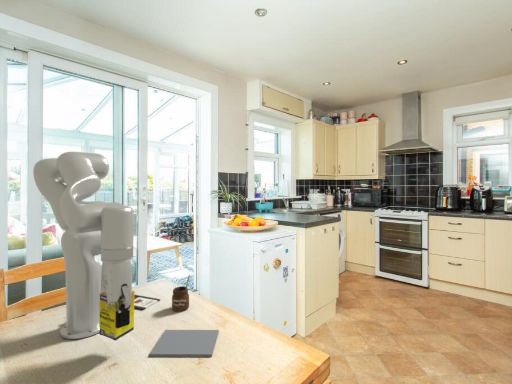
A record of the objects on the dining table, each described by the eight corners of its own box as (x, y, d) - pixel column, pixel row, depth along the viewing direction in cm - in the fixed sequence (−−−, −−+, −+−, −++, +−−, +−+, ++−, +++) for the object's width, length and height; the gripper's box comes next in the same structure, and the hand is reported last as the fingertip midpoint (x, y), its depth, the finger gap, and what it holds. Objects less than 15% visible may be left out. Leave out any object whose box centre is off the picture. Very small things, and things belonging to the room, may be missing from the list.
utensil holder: (175, 304, 102) (174, 272, 102) (192, 304, 102) (191, 272, 102) (169, 312, 96) (169, 277, 96) (187, 312, 96) (187, 277, 96)
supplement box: (98, 335, 71) (98, 293, 71) (118, 324, 77) (118, 285, 76) (115, 341, 69) (115, 298, 68) (134, 329, 74) (134, 289, 74)
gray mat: (149, 356, 71) (149, 354, 71) (165, 331, 83) (165, 329, 83) (211, 356, 71) (211, 354, 71) (218, 331, 83) (218, 329, 83)
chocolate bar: (124, 292, 112) (160, 299, 106) (124, 295, 112) (160, 301, 106) (104, 301, 104) (142, 309, 98) (105, 304, 104) (142, 311, 98)
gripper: (91, 248, 76) (91, 312, 76) (112, 264, 63) (112, 339, 64) (120, 244, 81) (120, 304, 82) (145, 258, 68) (145, 328, 69)
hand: (117, 319), depth 73 cm, fingers closed on supplement box, 7 cm apart
